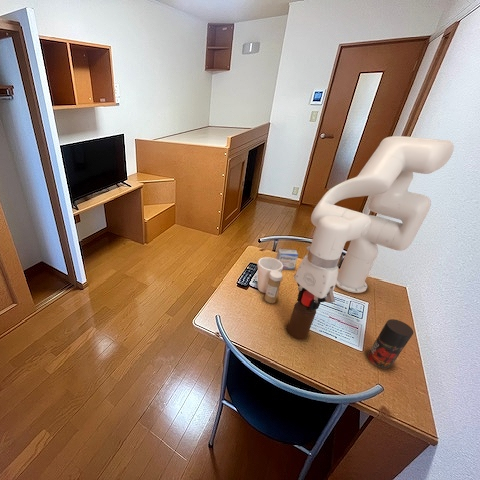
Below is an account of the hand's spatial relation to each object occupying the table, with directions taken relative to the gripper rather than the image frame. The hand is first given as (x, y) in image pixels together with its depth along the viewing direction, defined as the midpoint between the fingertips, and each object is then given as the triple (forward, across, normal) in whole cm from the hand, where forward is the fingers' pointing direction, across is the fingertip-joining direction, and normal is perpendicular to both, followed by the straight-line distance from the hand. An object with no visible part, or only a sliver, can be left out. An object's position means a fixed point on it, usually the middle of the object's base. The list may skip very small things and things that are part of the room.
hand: (307, 303), depth 83 cm
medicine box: (+15, -31, +26) cm, 43 cm away
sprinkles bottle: (+15, -17, +4) cm, 23 cm away
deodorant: (+15, +18, +15) cm, 28 cm away
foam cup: (+15, -23, +7) cm, 28 cm away
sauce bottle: (+14, 0, +1) cm, 14 cm away
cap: (-1, 0, 0) cm, 1 cm away
